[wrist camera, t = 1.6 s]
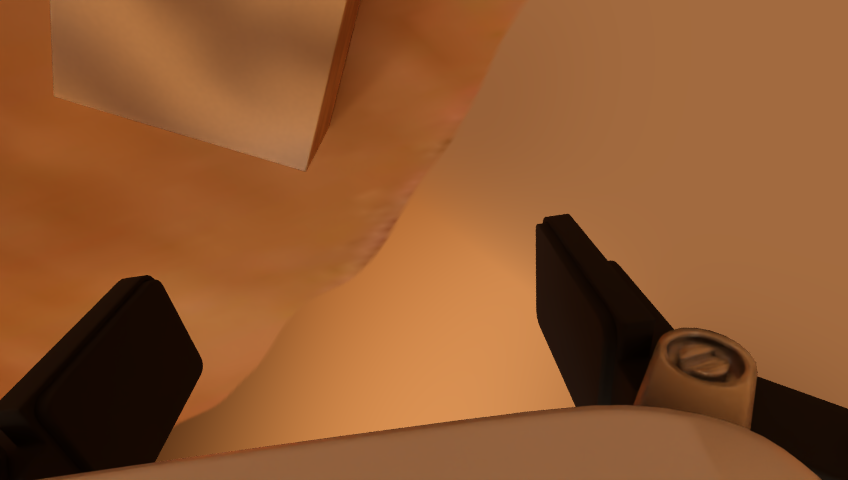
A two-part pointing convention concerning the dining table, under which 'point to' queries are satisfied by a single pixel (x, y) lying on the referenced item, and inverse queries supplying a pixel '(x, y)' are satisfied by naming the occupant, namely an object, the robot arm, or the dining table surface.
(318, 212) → the dining table surface
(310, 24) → the cabinet
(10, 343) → the dining table surface
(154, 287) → the robot arm
